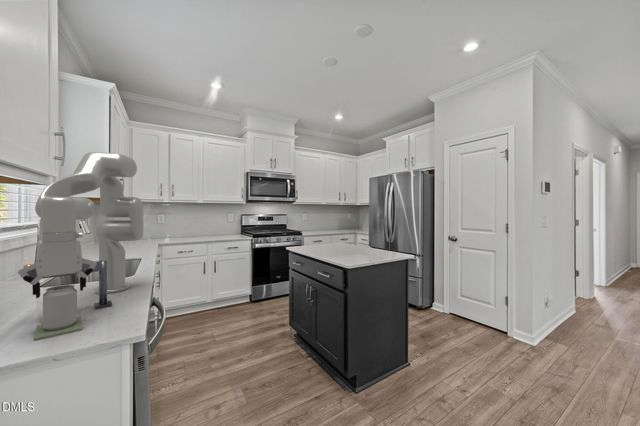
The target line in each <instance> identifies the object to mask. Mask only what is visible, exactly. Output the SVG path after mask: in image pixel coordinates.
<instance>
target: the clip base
mask: <svg viewBox="0 0 640 426" xmlns="http://www.w3.org/2000/svg"><path fill="white" fill-rule="evenodd" d="M109 307H110V308H111V307H113V302H112V300H107V303H104V304H99V301H98V302H93V308H94V310H99V309H104V308H109Z"/></svg>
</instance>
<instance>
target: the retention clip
mask: <svg viewBox="0 0 640 426" xmlns="http://www.w3.org/2000/svg"><path fill="white" fill-rule="evenodd" d="M95 262H97V265H96V266H95V268H94V270H93V271H92V272H91V273H96V272H98V287H99V293H98V302H99V304H104V303H107V301H108V293H107V261H99V260H97V261H95ZM32 264H33V263H27V264H25V265H24V266H23V267H22V269H23V268H25V267H27V266H29V265H32ZM89 267H90V265H89V264H85V263H82V270H83V271H84V272H85V271H86V270H87V269H89ZM27 274H28V275H29V276H31V277H33V278H35V277H36V276H37V274H36V268H34V269H32V270H30V271H28V272H27ZM73 275H78V274H77V273H74V274H66V275H58V276H50V277H43V278H42V279H41V280H43V279H50V278H58V277H65V276H67V277H68V276H73ZM23 281H24V282H26V281H25V280H23Z"/></svg>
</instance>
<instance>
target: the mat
mask: <svg viewBox="0 0 640 426" xmlns="http://www.w3.org/2000/svg"><path fill="white" fill-rule="evenodd" d="M79 331H83V325H82V317H81V316H78V317H77V320H76V322H75V323H73V325H71V326H69V327H66V328H63V329H59V330H46V329H45V328H43V323H42V324H37V326H36V329H35V333H34V336H33V341H35V340H36V341H40V340H45V339H48V338H53V337H57V336H62V335H66V334H70V333H74V332H76V333H77V332H79Z"/></svg>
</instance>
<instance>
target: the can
mask: <svg viewBox="0 0 640 426" xmlns="http://www.w3.org/2000/svg"><path fill="white" fill-rule="evenodd" d="M45 291H46V292H44V293H43V294H42V324H43V328H45V329H46V330H59V329H63V328H66V327H69V326H71V325H73V323H75V322H76V320H77V316H78V315H77V311H78V305H77V304H78V290H77V289H76V288H75V285H72V284H65V285H63V284H62V285H56V286H52V287H48V288H46V290H45Z"/></svg>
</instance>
